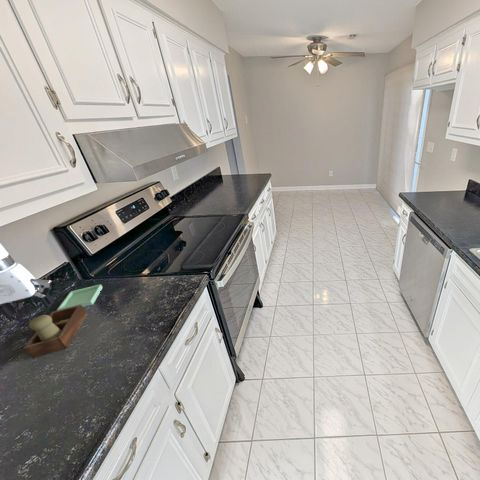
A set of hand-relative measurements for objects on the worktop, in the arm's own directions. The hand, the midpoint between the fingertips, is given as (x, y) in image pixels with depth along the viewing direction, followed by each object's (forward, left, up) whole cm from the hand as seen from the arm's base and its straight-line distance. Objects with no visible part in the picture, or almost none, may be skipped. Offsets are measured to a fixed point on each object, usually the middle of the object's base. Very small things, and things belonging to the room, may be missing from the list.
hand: (31, 310), depth 80 cm
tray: (-1, +25, -15) cm, 29 cm away
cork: (0, 0, -15) cm, 15 cm away
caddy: (0, +4, -15) cm, 16 cm away
